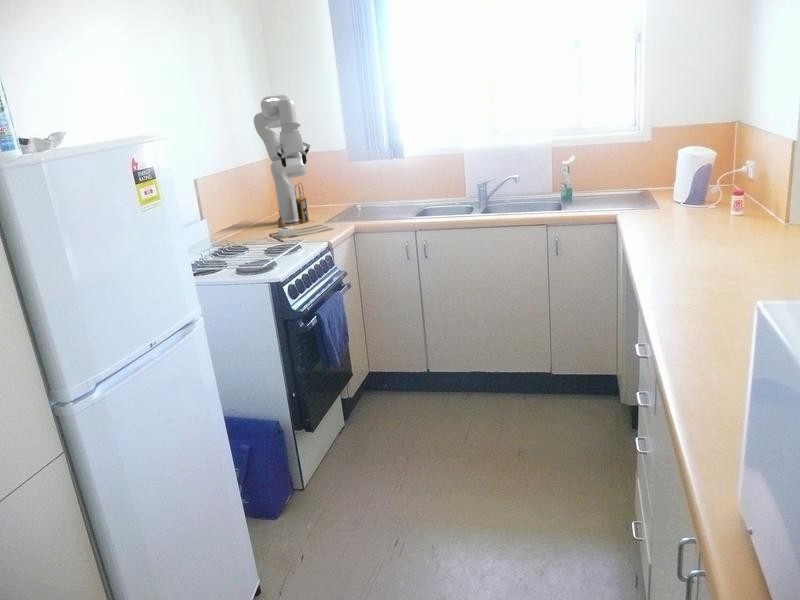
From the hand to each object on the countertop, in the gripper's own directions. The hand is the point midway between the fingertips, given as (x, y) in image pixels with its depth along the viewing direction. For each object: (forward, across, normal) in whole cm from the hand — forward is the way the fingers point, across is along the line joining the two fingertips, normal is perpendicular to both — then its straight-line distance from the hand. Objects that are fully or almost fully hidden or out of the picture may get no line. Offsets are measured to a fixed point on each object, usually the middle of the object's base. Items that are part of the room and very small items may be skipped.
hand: (294, 165), depth 309 cm
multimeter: (+31, -8, -11) cm, 33 cm away
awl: (+29, +12, +5) cm, 32 cm away
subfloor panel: (+30, +5, +12) cm, 33 cm away
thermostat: (+29, +12, +13) cm, 34 cm away
